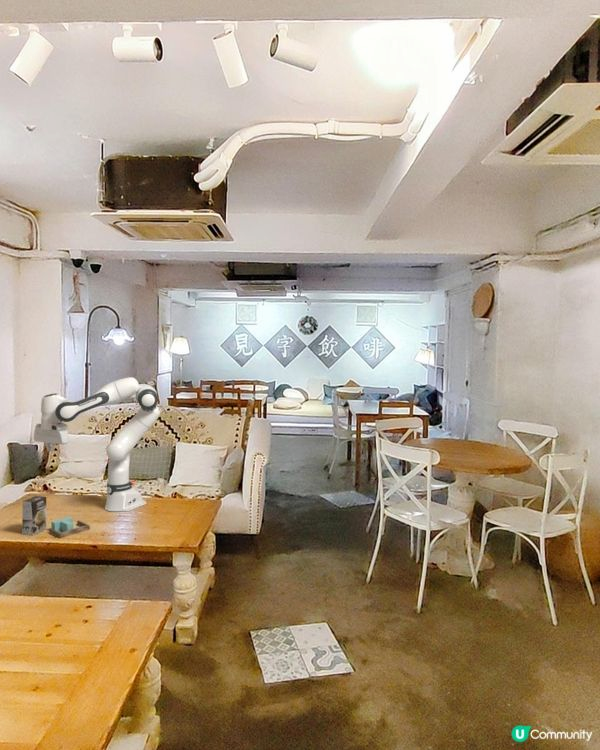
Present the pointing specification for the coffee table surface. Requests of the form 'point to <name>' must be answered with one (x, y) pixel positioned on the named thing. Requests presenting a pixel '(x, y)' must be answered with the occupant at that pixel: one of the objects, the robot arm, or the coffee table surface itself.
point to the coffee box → (34, 515)
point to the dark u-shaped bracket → (70, 532)
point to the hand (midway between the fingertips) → (50, 451)
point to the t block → (62, 524)
